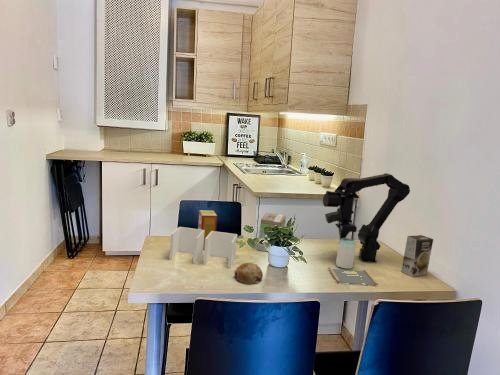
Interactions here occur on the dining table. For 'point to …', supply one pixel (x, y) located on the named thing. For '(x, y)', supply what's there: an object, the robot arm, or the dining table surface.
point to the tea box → (269, 225)
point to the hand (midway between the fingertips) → (341, 241)
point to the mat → (353, 277)
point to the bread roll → (248, 273)
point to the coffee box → (417, 255)
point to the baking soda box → (207, 222)
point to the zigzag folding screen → (194, 243)
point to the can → (345, 253)
